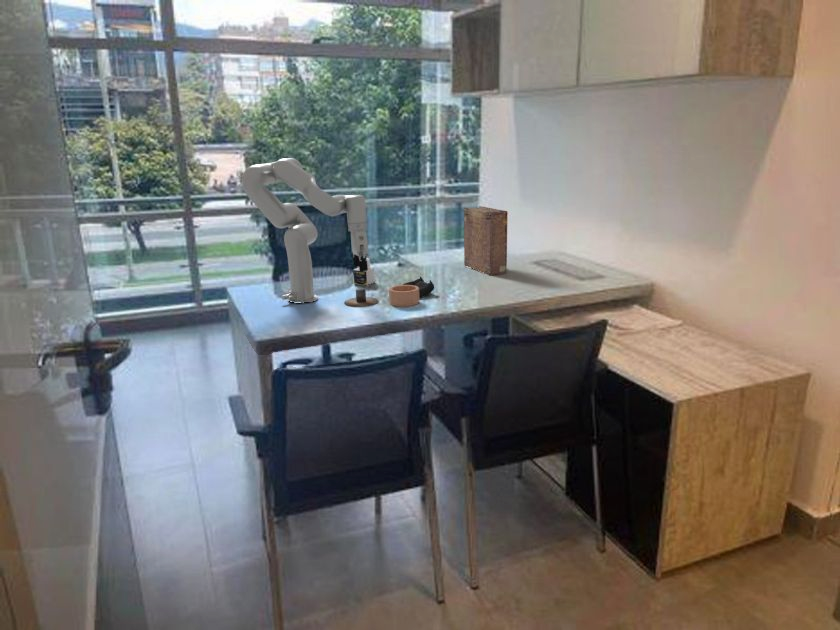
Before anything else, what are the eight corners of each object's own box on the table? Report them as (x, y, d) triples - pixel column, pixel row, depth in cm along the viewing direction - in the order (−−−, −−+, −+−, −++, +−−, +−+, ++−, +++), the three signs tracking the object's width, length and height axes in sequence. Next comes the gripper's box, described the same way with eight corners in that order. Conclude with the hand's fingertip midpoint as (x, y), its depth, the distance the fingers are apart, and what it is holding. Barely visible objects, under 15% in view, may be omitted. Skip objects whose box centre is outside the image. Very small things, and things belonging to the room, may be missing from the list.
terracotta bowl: (405, 308, 248) (404, 293, 246) (383, 303, 256) (383, 289, 254) (425, 301, 257) (424, 287, 255) (403, 297, 264) (403, 283, 263)
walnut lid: (360, 309, 249) (359, 295, 248) (337, 304, 258) (336, 290, 257) (385, 302, 259) (384, 288, 258) (362, 297, 268) (361, 283, 267)
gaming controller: (422, 304, 263) (439, 289, 265) (415, 294, 260) (433, 279, 262) (404, 295, 277) (421, 281, 279) (398, 286, 274) (415, 272, 277)
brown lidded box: (464, 266, 320) (463, 207, 312) (479, 264, 324) (479, 206, 316) (490, 275, 298) (490, 212, 290) (506, 273, 302) (507, 211, 294)
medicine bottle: (353, 284, 289) (352, 259, 286) (362, 281, 295) (360, 256, 292) (366, 285, 286) (365, 260, 282) (375, 282, 292) (373, 257, 288)
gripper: (372, 228, 243) (375, 271, 248) (361, 223, 259) (364, 263, 263) (353, 230, 241) (356, 273, 245) (343, 225, 256) (347, 266, 261)
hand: (360, 268), depth 254 cm, fingers open, 9 cm apart
